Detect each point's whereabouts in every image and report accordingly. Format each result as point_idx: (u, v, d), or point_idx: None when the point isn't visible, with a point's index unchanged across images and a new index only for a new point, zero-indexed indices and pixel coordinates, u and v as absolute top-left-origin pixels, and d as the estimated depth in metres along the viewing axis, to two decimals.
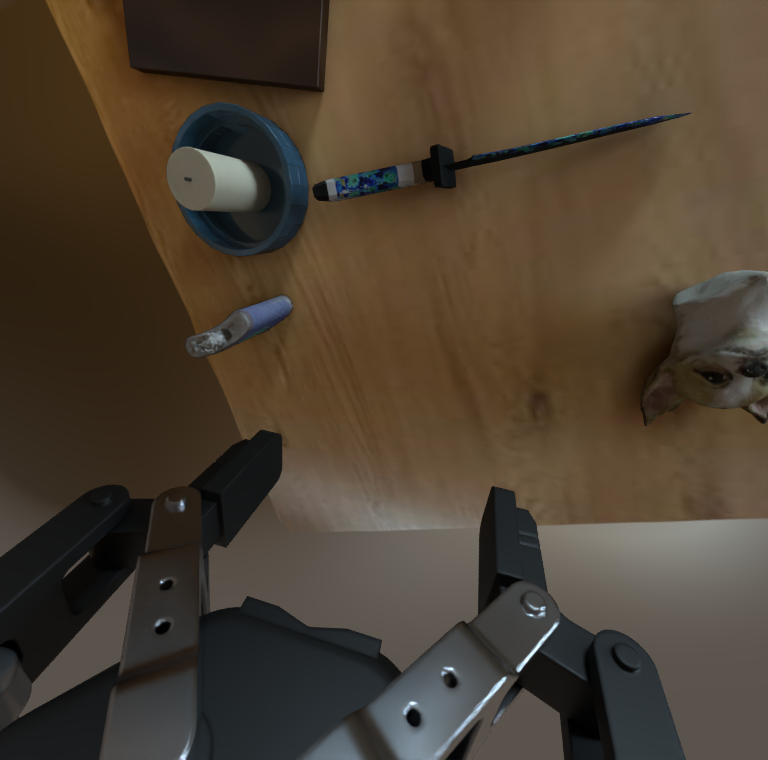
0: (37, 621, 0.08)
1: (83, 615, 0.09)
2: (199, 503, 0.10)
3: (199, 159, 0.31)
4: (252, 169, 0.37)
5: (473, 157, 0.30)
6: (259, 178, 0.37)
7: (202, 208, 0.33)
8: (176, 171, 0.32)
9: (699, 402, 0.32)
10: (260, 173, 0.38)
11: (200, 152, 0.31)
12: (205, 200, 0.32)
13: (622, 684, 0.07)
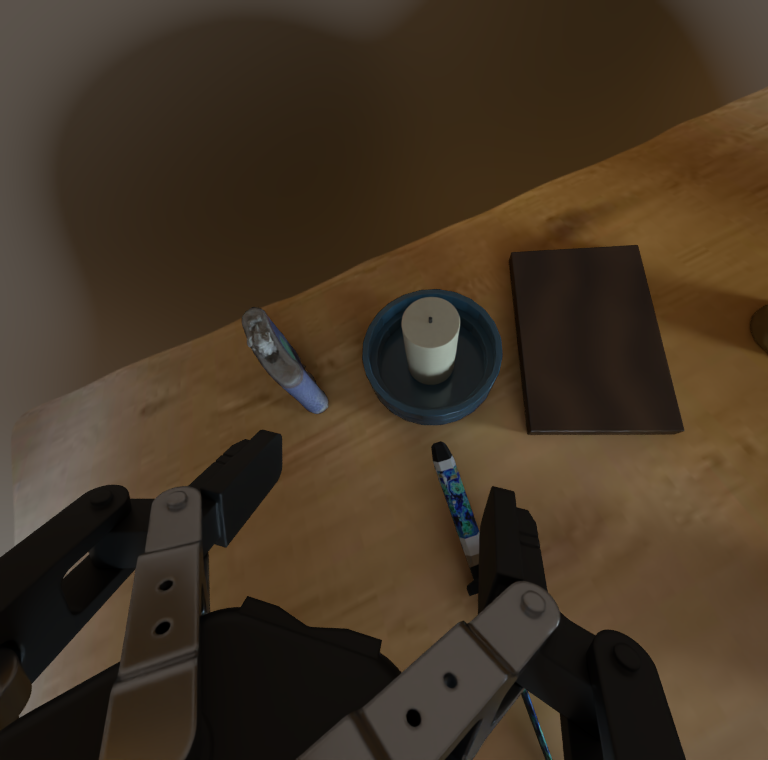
0: (37, 621, 0.08)
1: (83, 615, 0.09)
2: (199, 503, 0.10)
3: (450, 331, 0.30)
4: (448, 369, 0.36)
5: None
6: (441, 376, 0.37)
7: (404, 333, 0.31)
8: (435, 307, 0.31)
9: None
10: (445, 375, 0.37)
11: (457, 332, 0.30)
12: (413, 337, 0.31)
13: (622, 684, 0.07)
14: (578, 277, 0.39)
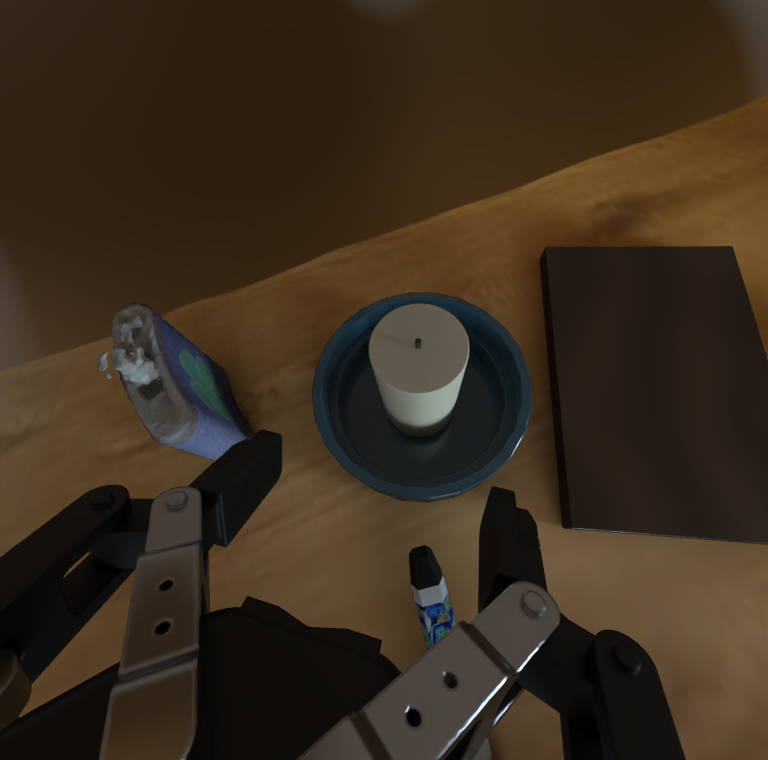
0: (37, 621, 0.08)
1: (83, 615, 0.09)
2: (199, 503, 0.10)
3: (452, 366, 0.17)
4: (444, 418, 0.23)
5: None
6: (433, 427, 0.24)
7: (372, 364, 0.18)
8: (429, 321, 0.18)
9: None
10: (440, 426, 0.24)
11: (463, 368, 0.17)
12: (386, 371, 0.18)
13: (622, 684, 0.07)
14: (644, 288, 0.27)
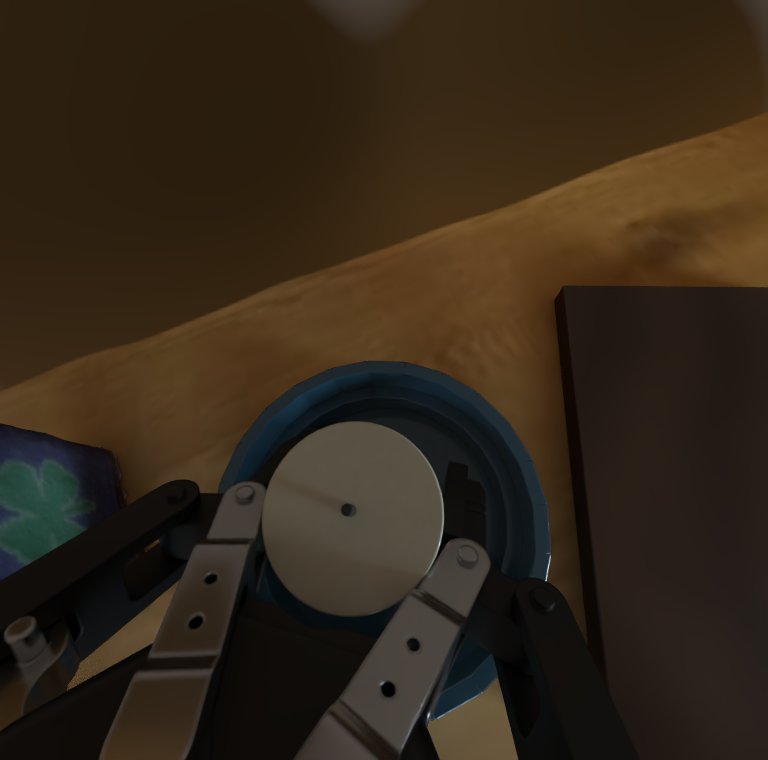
0: (97, 601, 0.09)
1: (141, 601, 0.10)
2: None
3: (410, 557, 0.09)
4: None
5: None
6: None
7: (266, 545, 0.10)
8: (372, 459, 0.10)
9: None
10: None
11: (431, 561, 0.09)
12: (289, 563, 0.09)
13: (535, 619, 0.08)
14: (708, 350, 0.18)
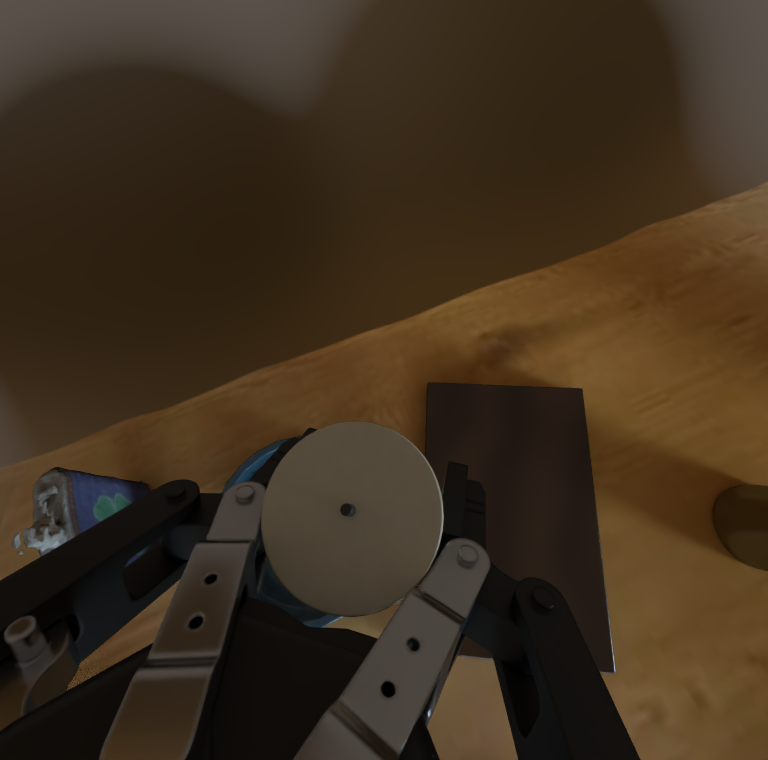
0: (97, 601, 0.09)
1: (141, 602, 0.10)
2: None
3: (410, 557, 0.09)
4: None
5: None
6: None
7: (265, 544, 0.10)
8: (372, 459, 0.10)
9: None
10: None
11: (431, 561, 0.09)
12: (288, 562, 0.09)
13: (535, 619, 0.08)
14: (504, 427, 0.31)
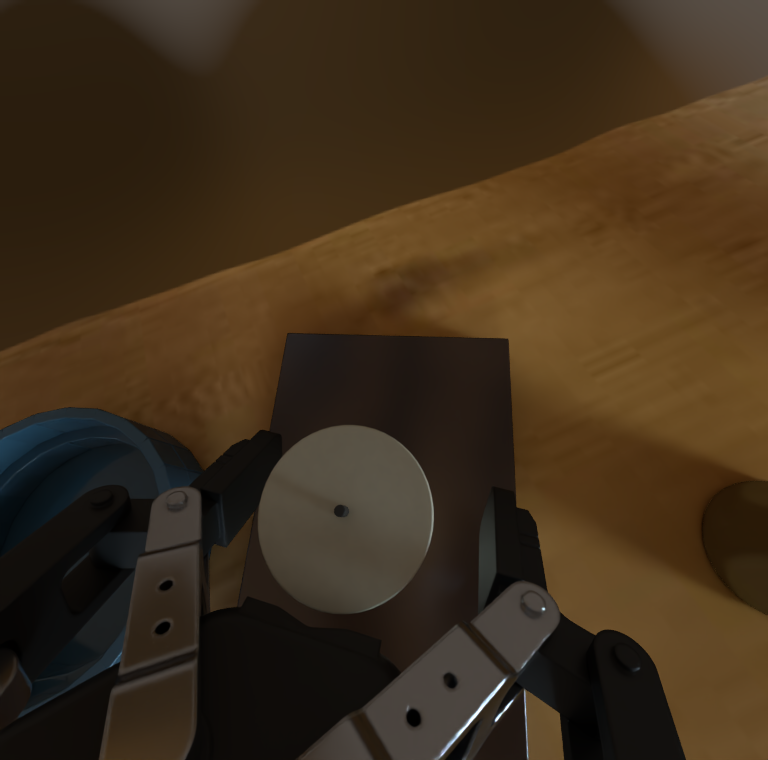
0: (37, 621, 0.08)
1: (83, 615, 0.09)
2: (199, 503, 0.10)
3: (401, 556, 0.10)
4: None
5: None
6: None
7: (262, 544, 0.10)
8: (365, 461, 0.11)
9: None
10: None
11: (421, 560, 0.10)
12: (284, 562, 0.10)
13: (622, 684, 0.07)
14: (389, 395, 0.21)
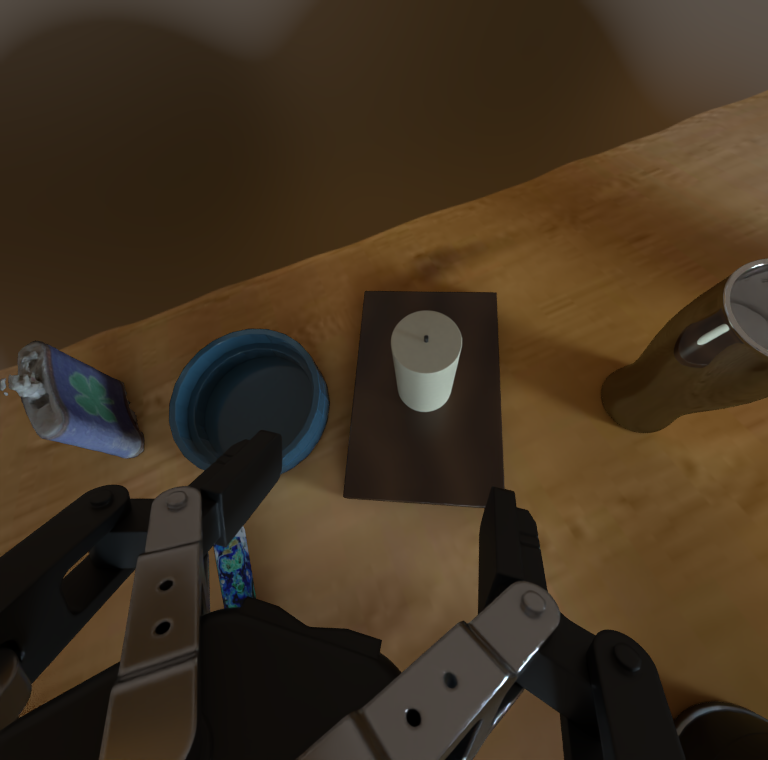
0: (37, 621, 0.08)
1: (83, 615, 0.09)
2: (199, 503, 0.10)
3: (450, 354, 0.25)
4: (444, 396, 0.31)
5: None
6: (435, 403, 0.31)
7: (394, 353, 0.25)
8: (433, 323, 0.26)
9: None
10: (440, 403, 0.32)
11: (457, 356, 0.25)
12: (403, 358, 0.25)
13: (622, 684, 0.07)
14: None
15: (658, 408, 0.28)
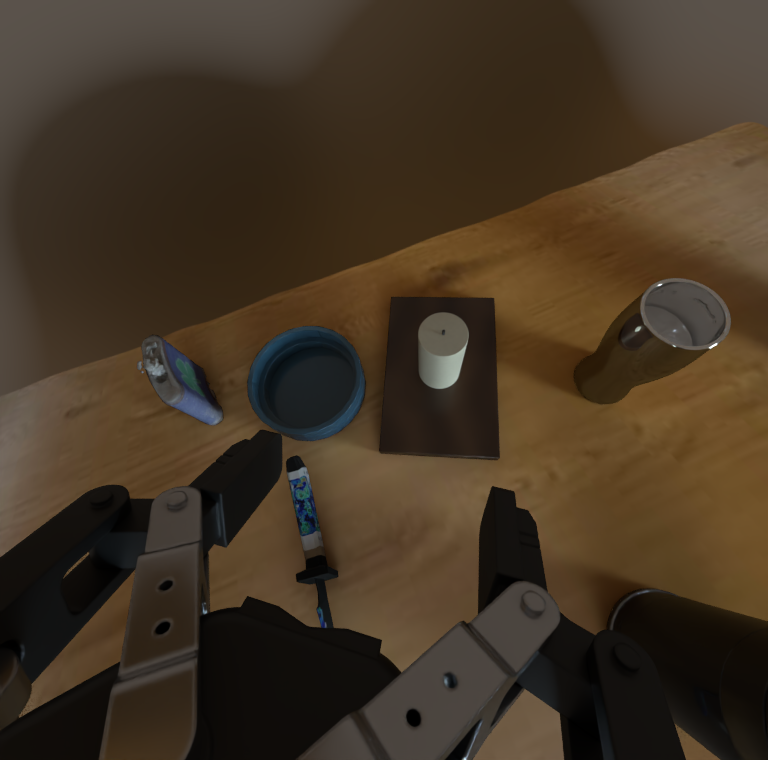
0: (37, 621, 0.08)
1: (83, 615, 0.09)
2: (199, 503, 0.10)
3: (460, 343, 0.35)
4: (454, 376, 0.41)
5: (317, 610, 0.34)
6: (448, 381, 0.42)
7: (420, 342, 0.36)
8: (448, 321, 0.36)
9: None
10: (452, 381, 0.42)
11: (465, 344, 0.35)
12: (427, 346, 0.36)
13: (622, 684, 0.07)
14: None
15: (610, 383, 0.38)
